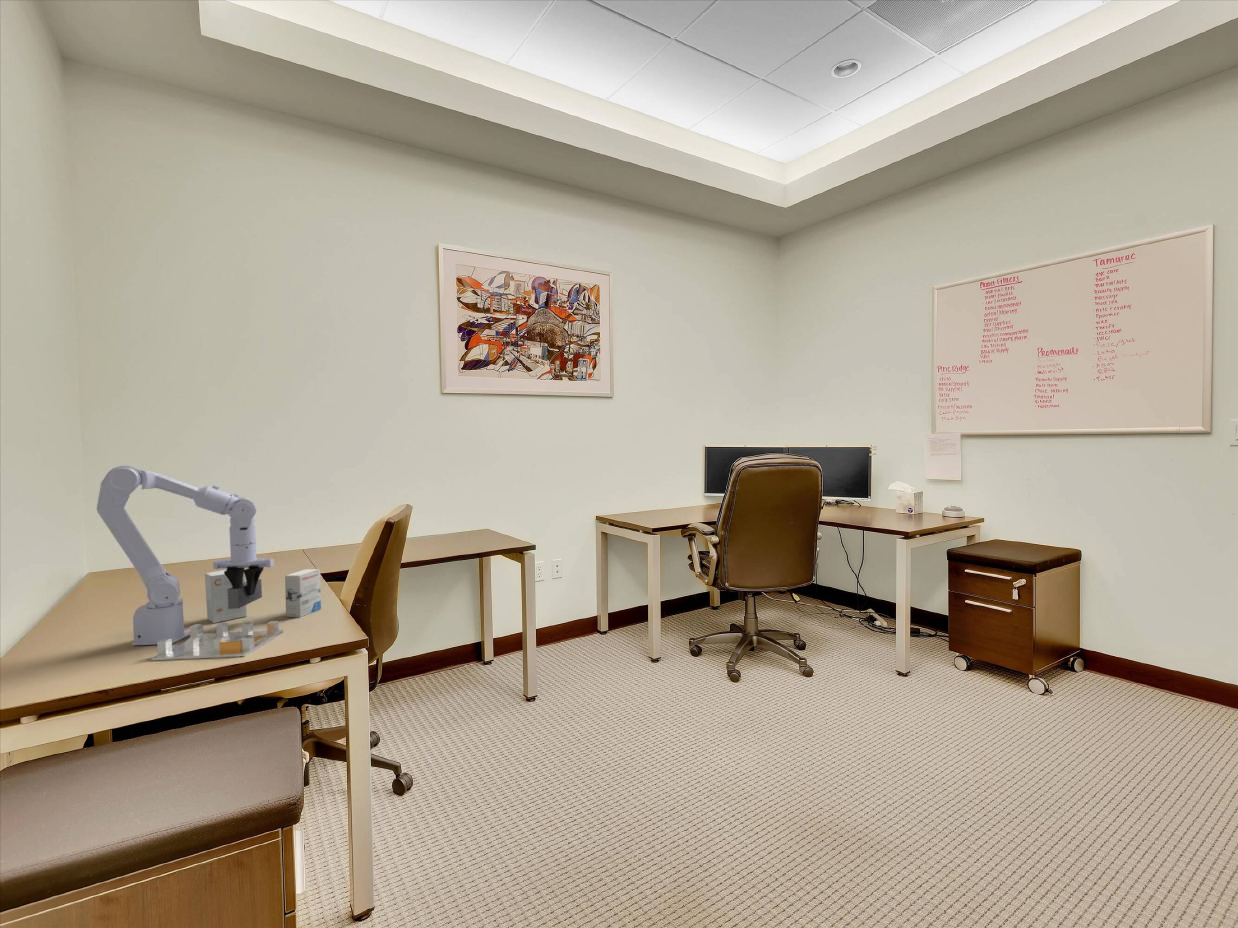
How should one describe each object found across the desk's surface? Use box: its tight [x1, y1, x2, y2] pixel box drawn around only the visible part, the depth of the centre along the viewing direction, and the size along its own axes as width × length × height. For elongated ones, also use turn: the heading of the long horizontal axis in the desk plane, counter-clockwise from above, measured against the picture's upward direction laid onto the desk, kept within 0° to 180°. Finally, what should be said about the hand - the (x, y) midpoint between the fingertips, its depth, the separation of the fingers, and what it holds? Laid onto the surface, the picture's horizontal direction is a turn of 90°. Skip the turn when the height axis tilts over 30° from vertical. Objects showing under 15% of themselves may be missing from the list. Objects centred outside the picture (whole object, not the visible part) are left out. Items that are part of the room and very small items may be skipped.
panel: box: [228, 578, 263, 609], centre depth 156 cm, size 2×11×5 cm, turn 4°
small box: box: [204, 569, 248, 624], centre depth 163 cm, size 8×6×13 cm
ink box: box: [284, 568, 322, 618], centre depth 167 cm, size 9×5×12 cm, turn 168°
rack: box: [151, 620, 284, 662], centre depth 140 cm, size 20×17×4 cm
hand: (245, 594), depth 156 cm, fingers closed on panel, 2 cm apart
